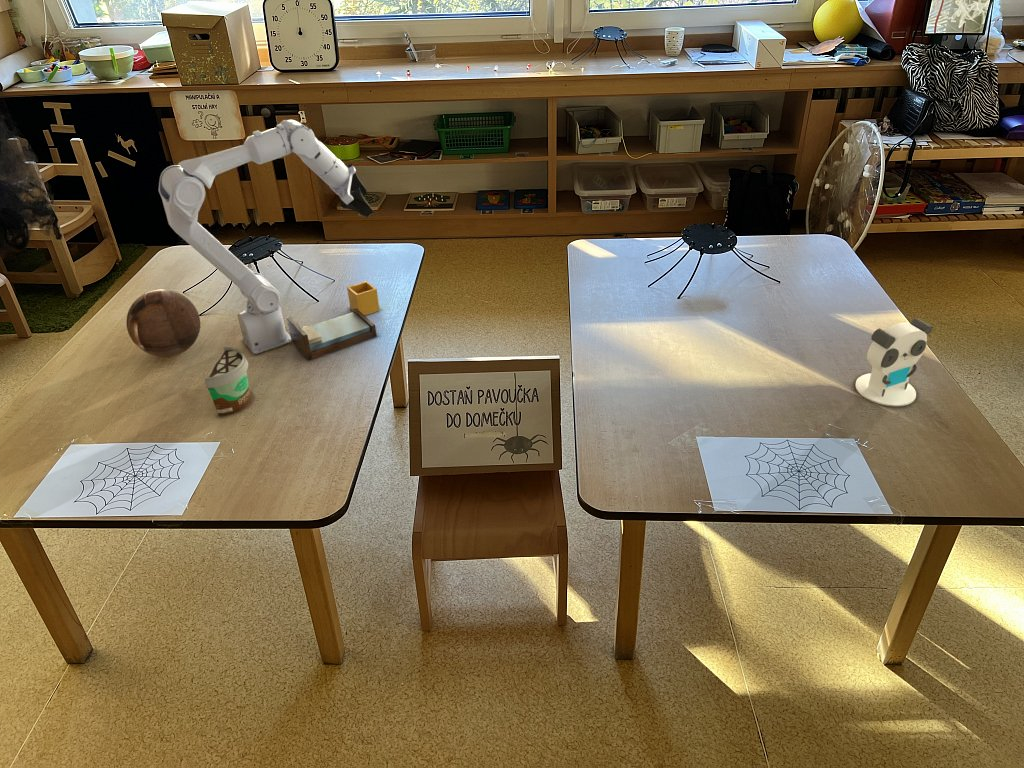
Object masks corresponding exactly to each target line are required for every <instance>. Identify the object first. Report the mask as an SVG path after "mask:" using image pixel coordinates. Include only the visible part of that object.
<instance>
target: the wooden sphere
mask: <svg viewBox="0 0 1024 768" xmlns="http://www.w3.org/2000/svg"><path fill="white" fill-rule="evenodd" d="M126 330H127V333H128V336H129V337H130V339H131V341H132V342H133V343H134V344H135V346H136V347H138V348H139V349H140V350H141V351H143V352H145V353H147V354H149V355H151V356H155V357H159V358H160V357H161V358H169V357H174V356H178V355H182V354H183V353H185V352H186V351H187V350H189V349H190V348H191V347H192V346H193V345H194V344H195V343H196V341H197V339H198V338H199V335H200V331H201V317H200V314H199V311H198V309H197V308H196V306H195V304H194V303H193V302H192V301H191V300H190V299H189V298H188V297H186V296H185V295H183V294H182V293H180V292H178V291H175V290H170V289H164V288H163V289H162V288H161V289H154V290H149V291H147V292H145V293H143V294H141V295H140V296H138V297H137V298H136V299H135V300H134V301H133V302H132V304H131V305H130V307H129V308H128V311H127V315H126Z"/></svg>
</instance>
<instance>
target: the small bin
mask: <svg viewBox="0 0 1024 768" xmlns="http://www.w3.org/2000/svg"><path fill="white" fill-rule="evenodd" d="M377 289H378V288H377V287H375V286H374V285H373V284H371V283H370V282H369V281H368V280H366V281H361V282H359V283H356V284H352V285H350V286H346V290H347V297H348V302H349V308H350V310H352V311H353V309H355V308H357V309H358V310H359V311H360V312H361V313H362V314H364V315H365V316H367V315H371V314H374V313H376V312H379V311H380V304H379V296H378V290H377Z"/></svg>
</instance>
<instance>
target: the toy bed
mask: <svg viewBox="0 0 1024 768" xmlns="http://www.w3.org/2000/svg"><path fill="white" fill-rule="evenodd" d="M285 318H286V323H287V327H288V331H289V332H288V333H289V335H290V336H291V340H292V342H291V343H292V344H293V345H294V346H295V347H296V348H297V350H298V351H299V352H300V353H301V354H302V355H303V356H304V357H305V358H306V360H307V361H311V360H314V359H316V358H319V357H322V356H325V355H328V354H331V353H334V352H338V351H340V350H342V349H345V348H348V347H351V346H353V345H356V344H359V343H363V342H365V341H368V340H371V339H373V338H377V336H378V335H377V329H376V328H377V327H376V324H375V323H374V322H373V321H371V319H369V318H368V316H367V315H364V314H362V313H361V312H360V311H359V310H358V309H357V308H355V309H353V310H352V311H351V312H348V313H345V314H343V315H340V316H337V317H334V318H331V319H327V320H324V321H322V322H317V323H316V324H313V325H311V324H309V325H306V326H305V325H304V326H303V327H301V326H300V324H298V323H297V322H296V320H294V319H293V318H292V316H287V317H285Z"/></svg>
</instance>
